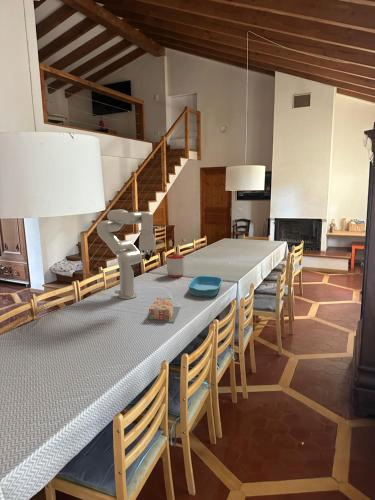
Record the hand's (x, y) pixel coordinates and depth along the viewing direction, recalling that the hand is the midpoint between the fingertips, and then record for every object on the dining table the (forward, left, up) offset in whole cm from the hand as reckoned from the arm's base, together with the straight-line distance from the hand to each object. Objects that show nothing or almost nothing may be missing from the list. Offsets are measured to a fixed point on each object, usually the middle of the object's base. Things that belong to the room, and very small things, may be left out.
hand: (147, 260), depth 234 cm
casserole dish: (+36, +32, -30) cm, 56 cm away
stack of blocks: (+7, -19, -26) cm, 32 cm away
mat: (+15, -19, -29) cm, 38 cm away
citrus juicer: (+6, +71, -29) cm, 77 cm away
